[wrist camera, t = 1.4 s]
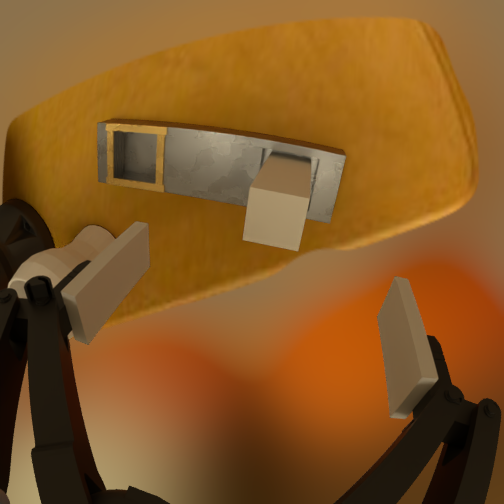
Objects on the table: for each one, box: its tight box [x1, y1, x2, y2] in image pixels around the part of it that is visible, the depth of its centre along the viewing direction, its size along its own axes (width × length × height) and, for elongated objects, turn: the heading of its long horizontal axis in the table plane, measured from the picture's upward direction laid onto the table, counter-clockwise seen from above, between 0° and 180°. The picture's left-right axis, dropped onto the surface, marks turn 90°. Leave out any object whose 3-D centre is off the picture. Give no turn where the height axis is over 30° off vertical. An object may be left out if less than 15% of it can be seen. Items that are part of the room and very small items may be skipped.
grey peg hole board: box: [98, 119, 346, 224], centre depth 32 cm, size 26×7×3 cm, turn 82°
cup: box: [8, 225, 115, 339], centre depth 36 cm, size 11×11×15 cm
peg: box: [243, 151, 311, 251], centre depth 27 cm, size 4×4×12 cm
